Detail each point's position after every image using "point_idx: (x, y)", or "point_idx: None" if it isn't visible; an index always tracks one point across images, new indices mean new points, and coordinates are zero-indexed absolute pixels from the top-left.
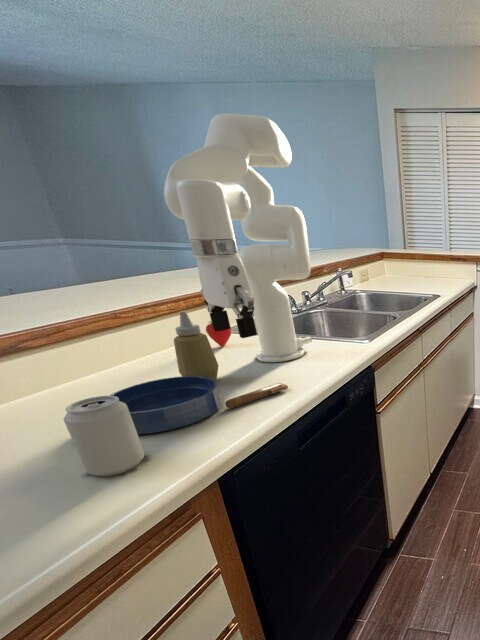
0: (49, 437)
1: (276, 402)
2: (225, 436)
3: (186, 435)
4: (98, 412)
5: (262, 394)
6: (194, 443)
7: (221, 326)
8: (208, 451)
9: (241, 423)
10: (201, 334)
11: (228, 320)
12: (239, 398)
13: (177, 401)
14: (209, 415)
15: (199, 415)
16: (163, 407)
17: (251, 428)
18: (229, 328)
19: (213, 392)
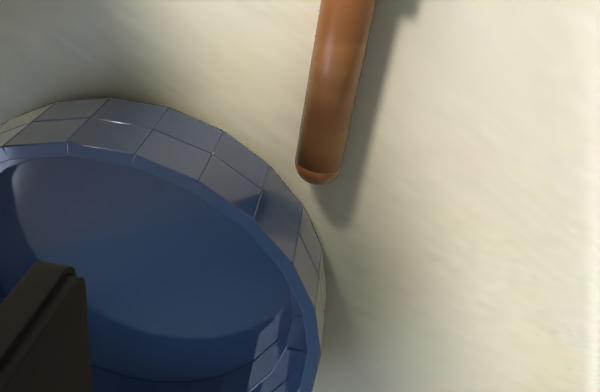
0: None
1: (486, 17)
2: (517, 318)
3: (374, 345)
4: None
5: (372, 13)
6: (452, 369)
7: (69, 384)
8: (543, 387)
9: (493, 237)
10: None
11: (26, 356)
12: (338, 136)
13: (50, 199)
14: (321, 248)
15: (324, 293)
16: (73, 252)
17: (571, 254)
18: (83, 282)
19: (290, 252)
